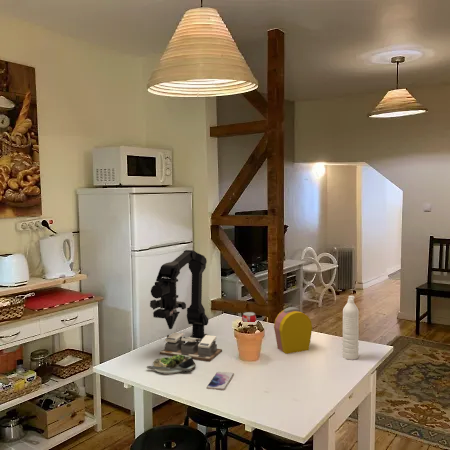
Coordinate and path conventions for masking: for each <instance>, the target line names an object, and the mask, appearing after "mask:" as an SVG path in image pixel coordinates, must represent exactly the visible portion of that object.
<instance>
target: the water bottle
mask: <svg viewBox="0 0 450 450" xmlns="http://www.w3.org/2000/svg"><path fill="white" fill-rule="evenodd" d="M355 298H356V297H355V296H354V295H348V298H347V302H346V304H345V305H344V307H343V309H342V352H341V353H342V358H343V359H345V360H352V361H353V360H358V359H359V337H360V336H359V332H360V331H359V330H360V329H359V325H360V323H359V322H360V321H359V320H360V319H359V316H360V315H359V314H360V311H359V308H358V306H357V305H356V303H355Z"/></svg>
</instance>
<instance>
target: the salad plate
mask: <svg viewBox="0 0 450 450" xmlns="http://www.w3.org/2000/svg"><path fill="white" fill-rule="evenodd" d="M196 366H197V365H196V362H195V360H194V359H193V358H191V357H190V356H186V355H177V356H166V357H165V356H163V357H158V358H156V359H154V360H153V361H152V365H147V366H146V369H147V370H152V371H155V372H158V373H160V374H163V375H164V374H165V375H174V374H183V373H189V372H192V371H193V370H194V369H195V368H196Z"/></svg>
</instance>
